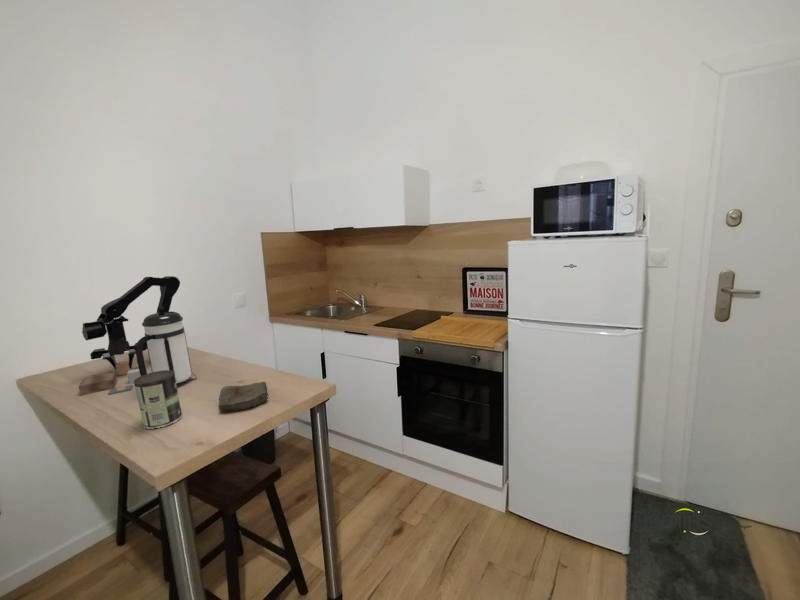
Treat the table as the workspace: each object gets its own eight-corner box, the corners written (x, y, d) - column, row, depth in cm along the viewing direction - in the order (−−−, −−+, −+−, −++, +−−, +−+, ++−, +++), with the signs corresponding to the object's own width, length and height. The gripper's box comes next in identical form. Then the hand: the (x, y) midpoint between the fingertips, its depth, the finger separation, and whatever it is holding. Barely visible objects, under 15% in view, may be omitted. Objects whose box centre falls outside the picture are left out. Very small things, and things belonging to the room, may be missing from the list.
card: (133, 385, 145) (133, 384, 145) (131, 390, 141) (131, 388, 141) (110, 390, 142) (110, 388, 142) (108, 395, 138) (107, 393, 138)
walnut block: (117, 381, 153) (115, 371, 152) (114, 389, 144) (112, 379, 143) (85, 387, 148) (83, 378, 147) (81, 396, 139) (78, 386, 138)
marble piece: (223, 396, 130) (221, 385, 130) (268, 388, 135) (266, 377, 134) (217, 417, 115) (215, 404, 114) (268, 407, 119) (266, 395, 119)
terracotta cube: (131, 370, 164) (129, 360, 163) (130, 373, 160) (128, 363, 159) (119, 372, 162) (117, 362, 161) (117, 375, 158) (115, 365, 157)
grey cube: (144, 378, 153) (142, 367, 152) (142, 381, 149) (140, 371, 149) (131, 380, 151) (129, 370, 150) (129, 384, 147) (127, 373, 147)
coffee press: (150, 382, 147) (135, 306, 142) (196, 373, 154) (184, 300, 149) (144, 399, 132) (127, 314, 126) (196, 387, 139) (182, 307, 133)
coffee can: (175, 409, 122) (167, 367, 119) (187, 418, 115) (179, 374, 112) (138, 423, 114) (128, 378, 112) (148, 433, 107) (139, 386, 105)
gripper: (83, 342, 146) (91, 381, 149) (140, 333, 155) (148, 370, 158) (90, 336, 156) (98, 372, 159) (144, 328, 164) (150, 362, 167)
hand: (124, 369), depth 160 cm, fingers closed on terracotta cube, 4 cm apart
